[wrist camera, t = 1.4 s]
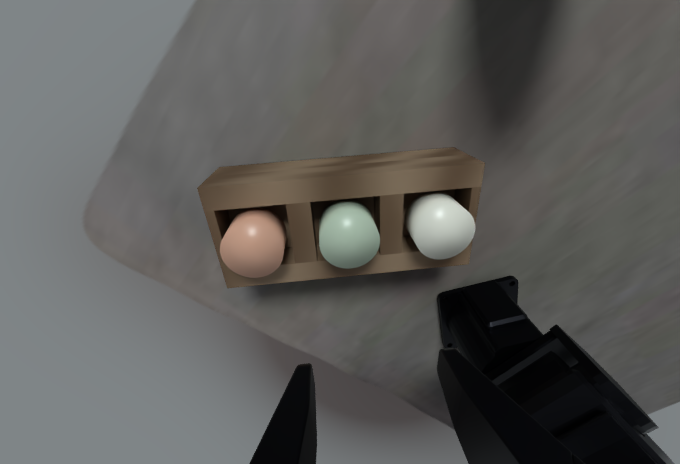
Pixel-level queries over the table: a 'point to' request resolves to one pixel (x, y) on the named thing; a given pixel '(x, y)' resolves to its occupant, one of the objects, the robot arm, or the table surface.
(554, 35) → the table surface
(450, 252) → the white rounded piece
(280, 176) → the wooden egg tray
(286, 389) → the robot arm
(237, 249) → the peach oval piece
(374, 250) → the sage egg
